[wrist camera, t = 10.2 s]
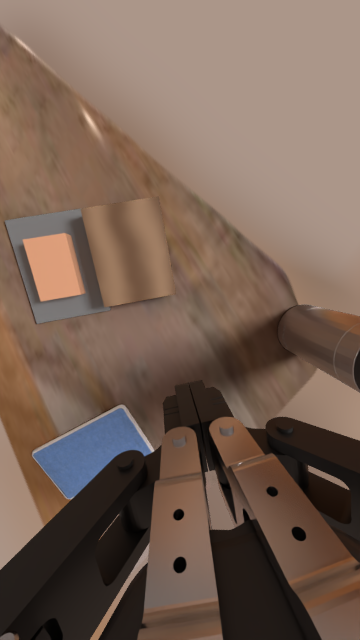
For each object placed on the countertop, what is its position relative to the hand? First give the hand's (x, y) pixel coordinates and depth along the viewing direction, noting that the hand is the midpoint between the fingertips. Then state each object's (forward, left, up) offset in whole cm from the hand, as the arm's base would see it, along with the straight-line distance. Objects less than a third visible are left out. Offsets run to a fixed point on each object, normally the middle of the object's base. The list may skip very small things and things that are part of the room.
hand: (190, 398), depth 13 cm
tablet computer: (+18, +24, -30) cm, 42 cm away
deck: (+4, -10, -29) cm, 31 cm away
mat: (+15, -10, -29) cm, 34 cm away
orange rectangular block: (+15, -10, -27) cm, 33 cm away
